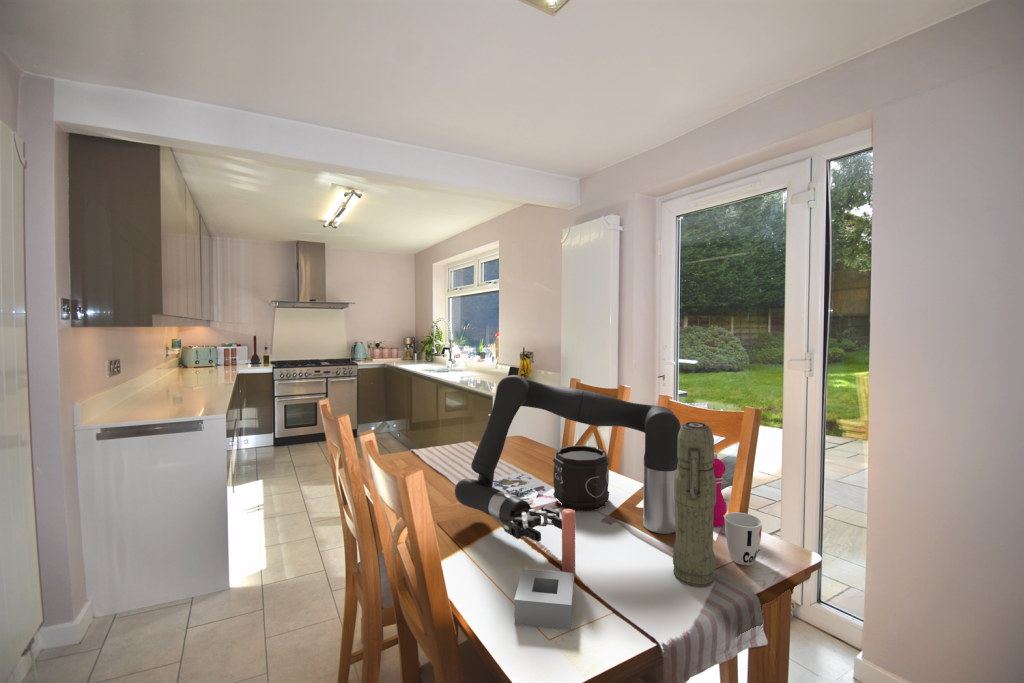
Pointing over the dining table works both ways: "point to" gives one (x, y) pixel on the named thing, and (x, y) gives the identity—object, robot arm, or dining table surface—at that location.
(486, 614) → the dining table surface
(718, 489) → the pepper mill
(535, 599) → the socket block
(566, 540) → the pin
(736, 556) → the cup
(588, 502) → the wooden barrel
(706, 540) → the thermos
